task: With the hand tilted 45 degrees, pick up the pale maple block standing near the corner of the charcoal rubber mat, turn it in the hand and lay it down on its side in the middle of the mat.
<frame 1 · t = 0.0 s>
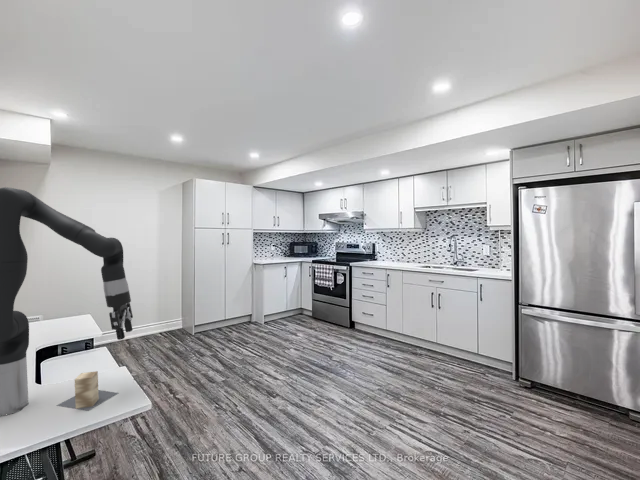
hand: (125, 335, 118), 22 cm above the table, tool pointing down, fingers open, 8 cm apart
rubber mat: (88, 400, 115), on the table
maple block: (87, 403, 112), point 1 cm above the table, touching rubber mat
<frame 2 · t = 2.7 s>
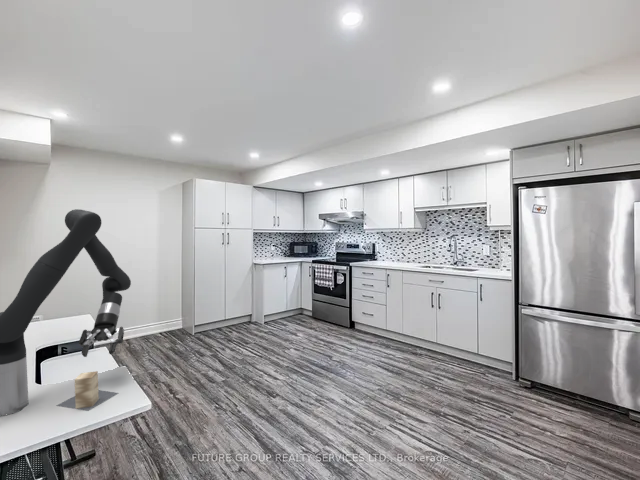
hand: (97, 354, 121), 14 cm above the table, tool tilted 45°, fingers open, 8 cm apart
nothing on the table moved.
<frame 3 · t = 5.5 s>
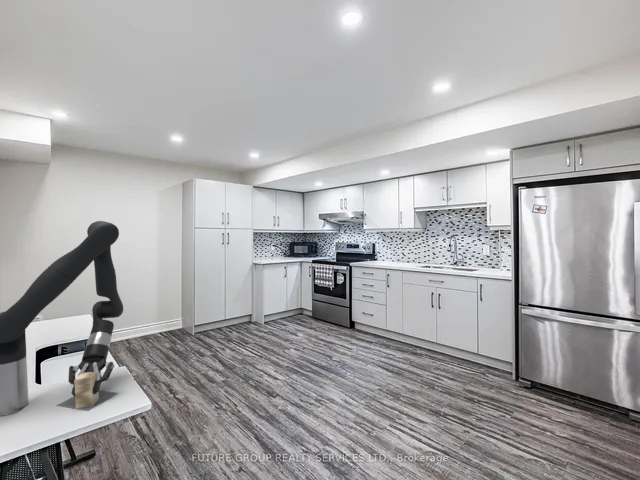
hand: (84, 394, 110), 5 cm above the table, tool tilted 45°, fingers closed on maple block, 5 cm apart
maple block: (87, 403, 112), point 1 cm above the table, touching gripper, rubber mat
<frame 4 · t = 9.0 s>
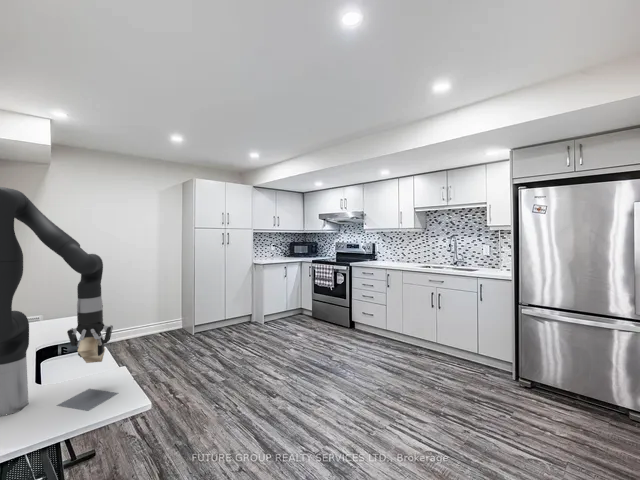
hand: (91, 355, 117), 15 cm above the table, tool pointing down, fingers closed on maple block, 5 cm apart
maple block: (96, 355, 121), point 13 cm above the table, tilted 45°, touching gripper
when the fingers open (6 cm above the table, at t = 11.8 s): maple block moves 2 cm and tips over, resting on rubber mat.
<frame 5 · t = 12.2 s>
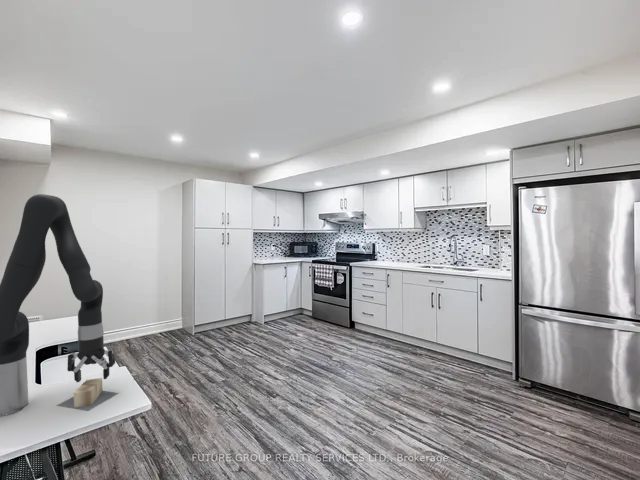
hand: (92, 379, 117), 6 cm above the table, tool pointing down, fingers open, 8 cm apart
maple block: (94, 385, 120), point 3 cm above the table, tilted 90°, touching rubber mat
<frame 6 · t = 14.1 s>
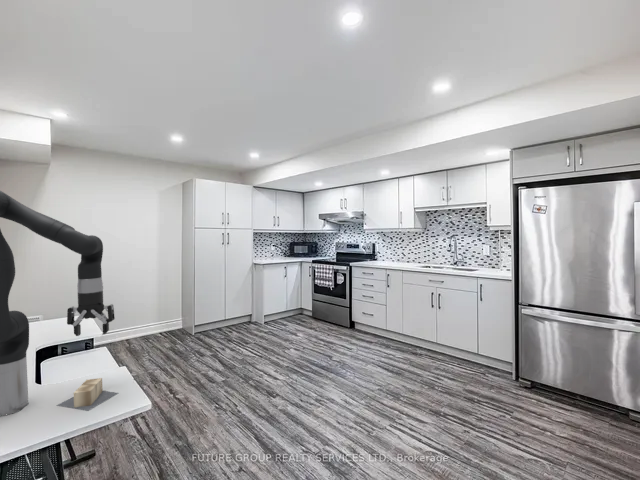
hand: (91, 334, 118), 23 cm above the table, tool pointing down, fingers open, 8 cm apart
nothing on the table moved.
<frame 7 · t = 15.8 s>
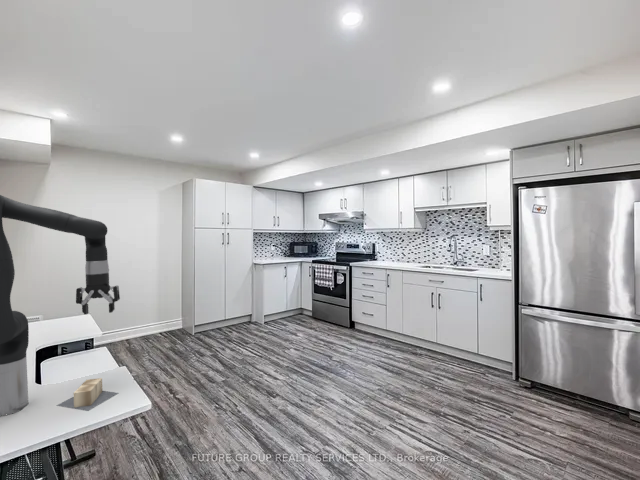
hand: (98, 313, 127), 28 cm above the table, tool pointing down, fingers open, 8 cm apart
nothing on the table moved.
at the end: maple block tilted 90°; maple block inside the target area on the rubber mat (5.0 cm from its centre), point 3.1 cm above the rubber mat's base; the gripper is holding nothing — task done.
